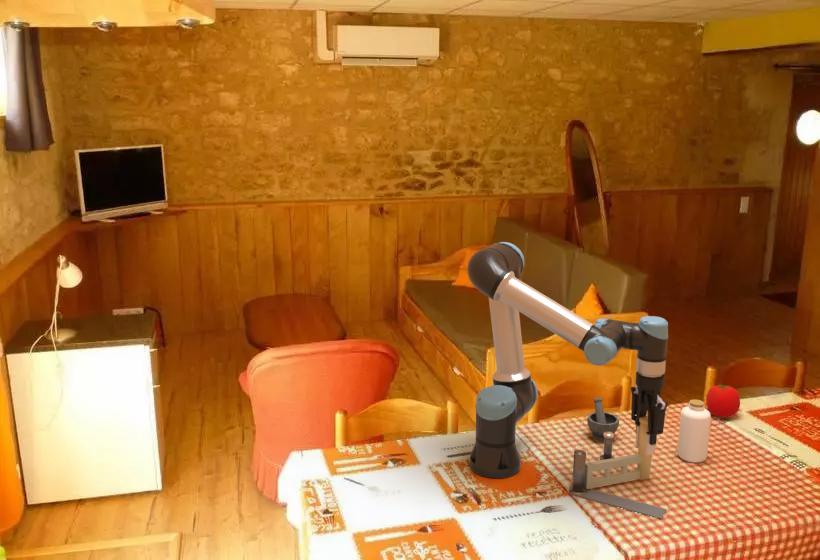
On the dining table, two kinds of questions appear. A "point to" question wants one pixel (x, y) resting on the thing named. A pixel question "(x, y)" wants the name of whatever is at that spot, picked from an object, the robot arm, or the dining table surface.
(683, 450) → the potion bottle
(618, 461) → the slotted fence panel
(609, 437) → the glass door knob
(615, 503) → the strip
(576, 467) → the brown knob post
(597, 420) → the mortar and pestle
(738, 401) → the tomato
